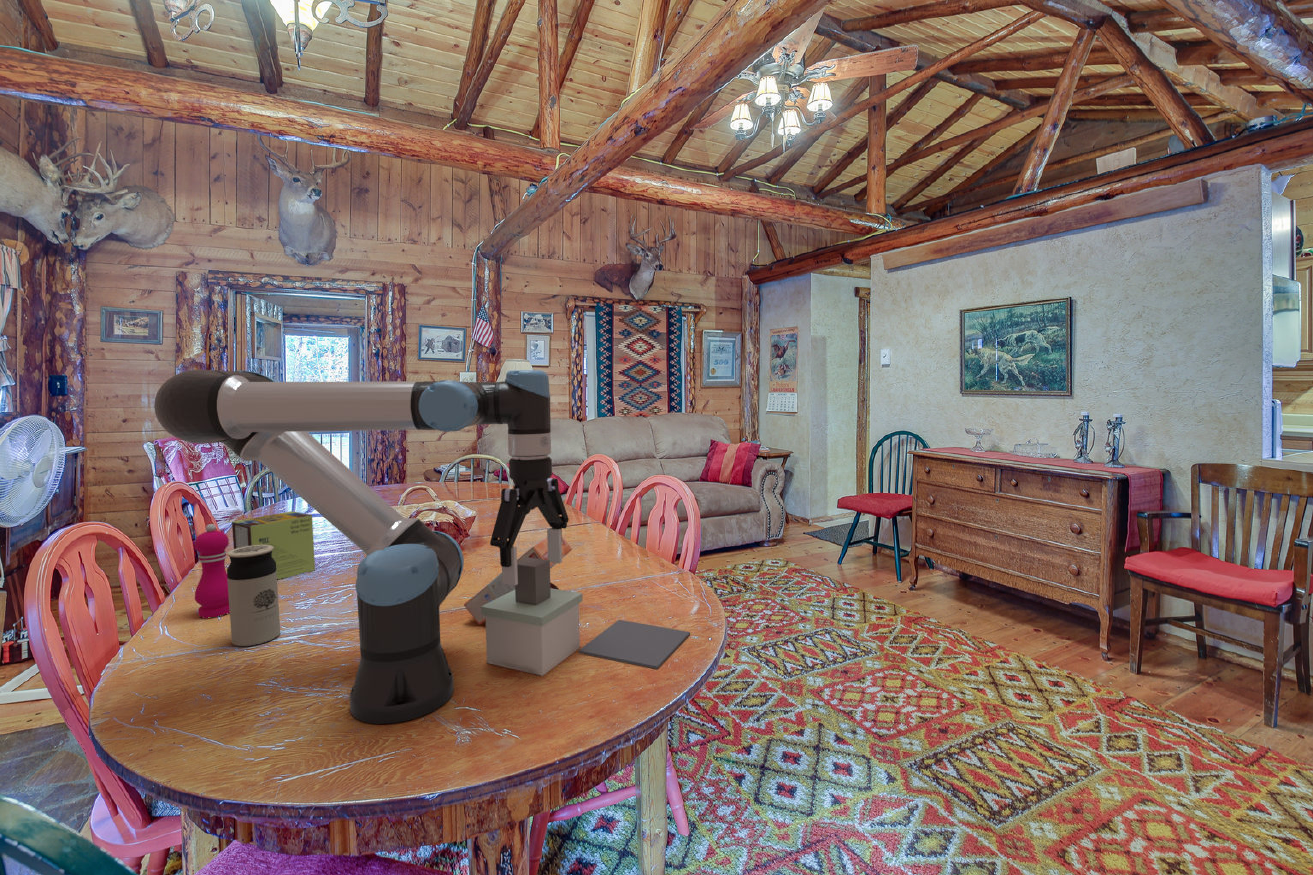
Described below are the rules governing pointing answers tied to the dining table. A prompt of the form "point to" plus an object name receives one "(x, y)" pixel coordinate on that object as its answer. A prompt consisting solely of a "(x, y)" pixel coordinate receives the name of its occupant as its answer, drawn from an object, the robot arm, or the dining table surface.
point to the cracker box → (499, 589)
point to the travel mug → (253, 595)
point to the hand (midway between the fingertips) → (533, 572)
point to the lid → (532, 596)
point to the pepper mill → (212, 573)
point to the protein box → (280, 540)
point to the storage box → (532, 642)
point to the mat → (636, 643)
